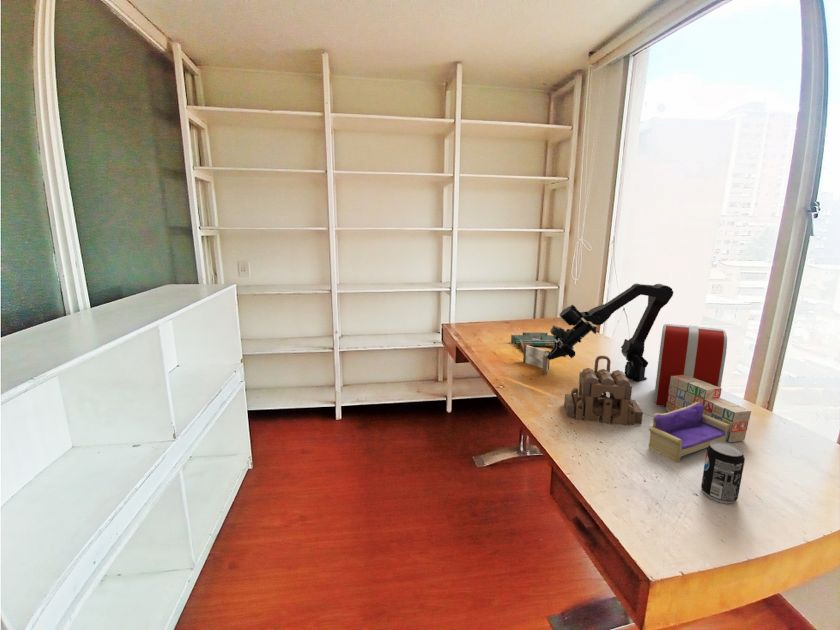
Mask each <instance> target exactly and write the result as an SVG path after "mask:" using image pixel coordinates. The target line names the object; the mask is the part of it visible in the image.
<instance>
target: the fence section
mask: <svg viewBox="0 0 840 630" xmlns="http://www.w3.org/2000/svg"><path fill="white" fill-rule="evenodd" d="M546 352H549V353H550V352H551V350H550V351H549V350H545V349H543V348H539V347H535V346H533V345H532V346H531V345H530V346H528V345H524V352H523V356H522V357H523V358H522V362H523V363H525V364H528V365H532V366H533V367H534V366H535V367H538V368H540V369H542V368H543V355H545V354H546ZM549 370H550V360H549V359H548V371H549Z"/></svg>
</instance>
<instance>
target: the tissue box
mask: <svg viewBox="0 0 840 630" xmlns="http://www.w3.org/2000/svg"><path fill="white" fill-rule="evenodd" d="M727 349H728V336H727V333H726V330H724V329H723V328H713V327H703V326H702V327H700V326H697V325H683V324H682V325H681V324H670V323H664V324H663V326H662V332H661V338H660V345H659V354H658V363H657V370H656V379H655V385H654V386H655V388H654V398H653V403H652V404H653V406H657V407H662V408H666V405H667V400H668V392H669V385H670V380H671V376H676V375H684V376H689V377H693V378H696V379H698V380H701V381H704V382H706V383H709V384H711V385H714V386H717V387H719V388H722V382H723V375H724V368H725V363H726V357H727Z"/></svg>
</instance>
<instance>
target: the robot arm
mask: <svg viewBox="0 0 840 630" xmlns="http://www.w3.org/2000/svg"><path fill="white" fill-rule="evenodd" d="M673 295H674V291H673V288H672V287H670V286H669V285H666V284H663V283H655V284H643V283H641V284H640V283H634V284H632V285H631V286H630V287H628V288H627V289H626V290H624V291H622V292H621V293H619V294H618V295H616V296H615V297H613V298H612V299H611V300H609V301H607V302H606V303H603V304H600V305H597V306H594V307H593V308H591V309H589V310H588V311H582V312H580V311H579V310H578V309H577V307H576V306H575V305H574V304H571V305H569V306H567V307H566V308H563V310H561V311H560V313H559V317H560V318H561V319H562V320H563V321H564V322H565V323H566V324H567V325H568V326H572V328H567V329H566V330H565V329H564V328H562V327H559V326H556V325H552V327H551V329H550V331H549V332H550V335H554V336H553V338H554V339H556V340H557V341H555V340H554V347H552V349H551V350H550V353H549V355H548V359H549V361H551V360H554V359H558V358H561V357H562V356H566V357H567V356H568V357H569V358H570V359H573V358H574V357H575V356H576V351H575V349H574V346H575V345H577V344H578V343H582V339H583V338H584V337H586V336H587V335H588V334H589V333H590V332H592V334H595V335H596V334H597V326H602V325H603V324H604V323H605V322H607V321H608V319H610V317H611V316H612V314H614V313H615V312H616V311H618V310H619V309H621V308H622V307H624V306H625V305H627V304H628V303H629V302H631V301H633V300H634V299H636V298H638V297H639V296H647V306H646V308H645V310H644V312H643V313H642V316H641V318H640V320H639V323H638V325H637V327H636V328H635V331H634V333H633V334H632V337H631V338H629V339H627V338H625V339H624V341H623V344H622V345H621V346H620V348H621V354H622V356H623V357H624V358H625V361H626V364H625V365H624V372H623V373H624V374H625V376H626V377H627V379H628V380H631V381H633V382H636V383H637V382H641V381H644V380H647V379H648V378H647V377H645V375H646V368H647V366H648V364H649V362H648V360H646V359H645V357H644V353H645V342H646V340H647V337H648V336H649V334H650V331H651V330H652V327H653V326H654V323H655V321H656V319H657V317H658V315H659V314H660V311H661V310H662V309H663V307H665V306H667V304H668V303H669V302H670V300H671V299H672V297H673ZM584 320H585V321H584Z"/></svg>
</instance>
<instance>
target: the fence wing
mask: <svg viewBox="0 0 840 630" xmlns="http://www.w3.org/2000/svg"><path fill="white" fill-rule="evenodd" d="M548 355H549V352H546V354H545V355H543V368H541V371H542V372H541V374H542V375H543V376H547V373H548V372H549V370H548Z"/></svg>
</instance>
